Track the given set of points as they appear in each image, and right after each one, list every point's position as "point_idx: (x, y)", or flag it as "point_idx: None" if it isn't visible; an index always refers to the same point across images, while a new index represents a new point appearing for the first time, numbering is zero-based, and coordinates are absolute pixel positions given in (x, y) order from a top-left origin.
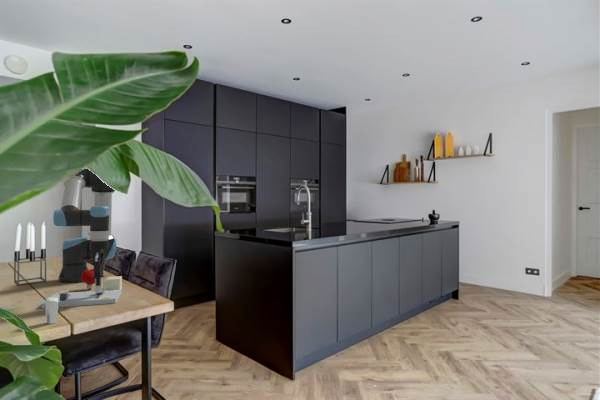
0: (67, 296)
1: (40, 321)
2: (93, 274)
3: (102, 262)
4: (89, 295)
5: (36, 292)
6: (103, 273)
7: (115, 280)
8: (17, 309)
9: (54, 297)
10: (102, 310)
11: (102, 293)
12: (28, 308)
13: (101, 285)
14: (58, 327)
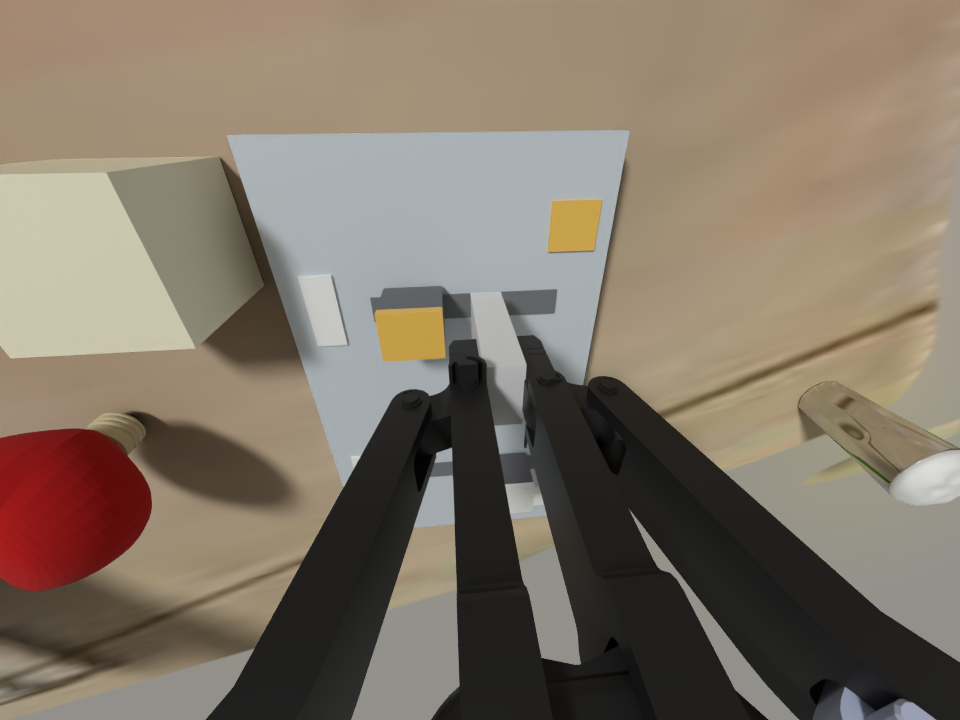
0: (502, 463)
1: (765, 437)
2: (42, 499)
3: (632, 578)
4: (445, 367)
5: (246, 589)
6: (403, 397)
7: (152, 233)
8: (531, 547)
9: (942, 485)
10: (771, 201)
11: (439, 288)
12: (531, 527)
13: (511, 322)
14: (923, 350)
